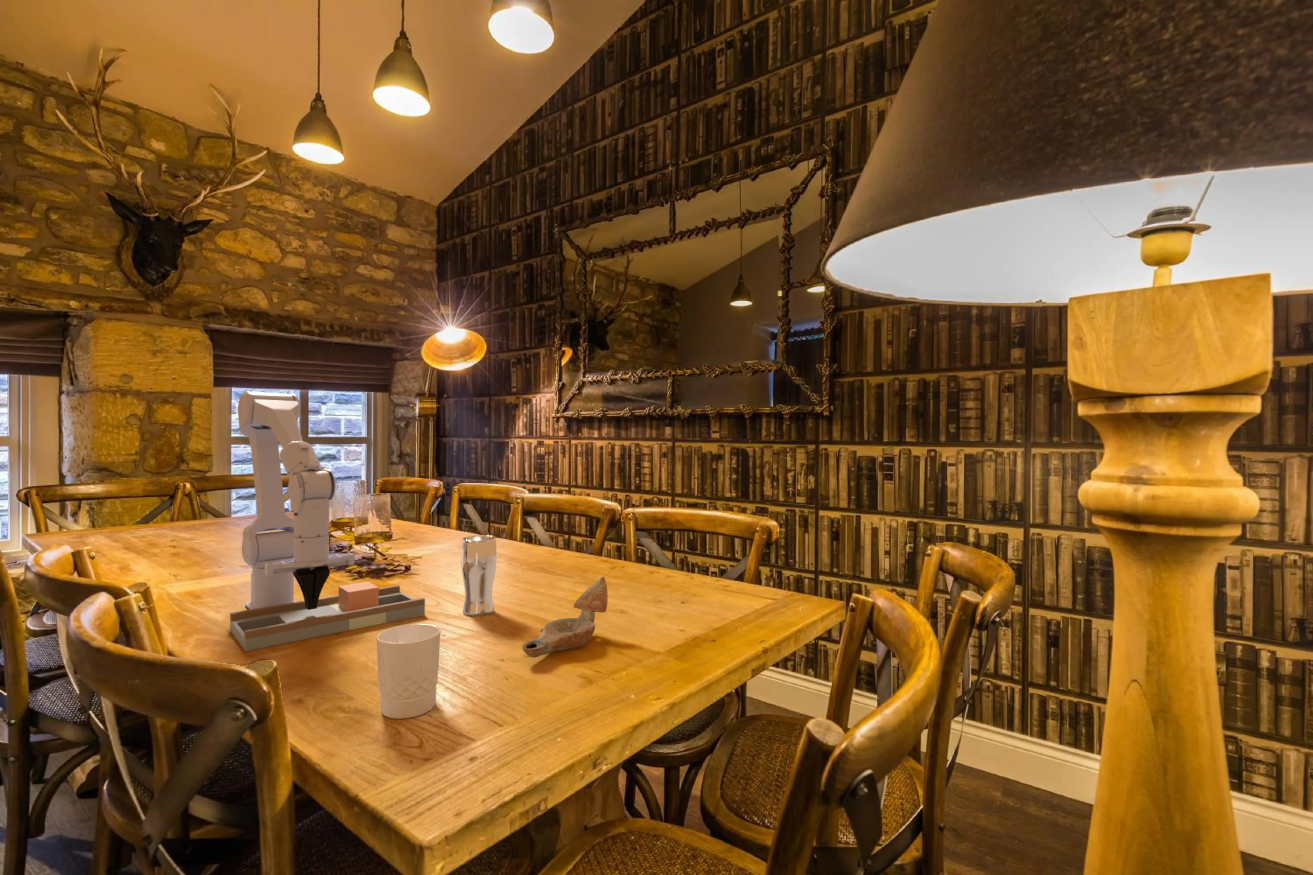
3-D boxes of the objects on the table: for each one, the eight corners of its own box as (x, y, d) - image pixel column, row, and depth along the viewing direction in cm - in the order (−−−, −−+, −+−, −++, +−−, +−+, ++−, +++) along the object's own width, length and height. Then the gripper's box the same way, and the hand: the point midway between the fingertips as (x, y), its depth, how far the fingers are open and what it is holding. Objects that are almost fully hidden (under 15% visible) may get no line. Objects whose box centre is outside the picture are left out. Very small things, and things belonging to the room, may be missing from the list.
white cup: (388, 695, 85) (388, 623, 85) (446, 694, 86) (447, 623, 86) (366, 722, 77) (367, 643, 77) (430, 720, 78) (431, 642, 78)
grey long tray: (229, 630, 111) (230, 612, 111) (397, 599, 132) (398, 585, 132) (245, 651, 101) (245, 632, 101) (424, 614, 121) (424, 598, 121)
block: (338, 606, 120) (338, 586, 120) (368, 601, 123) (368, 581, 123) (348, 613, 115) (348, 592, 115) (378, 607, 119) (378, 587, 119)
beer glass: (486, 618, 120) (486, 541, 120) (453, 615, 121) (454, 540, 121) (502, 607, 127) (502, 535, 127) (471, 605, 128) (471, 534, 128)
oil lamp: (622, 633, 112) (622, 579, 112) (545, 673, 94) (545, 608, 94) (584, 625, 116) (584, 573, 116) (503, 661, 98) (504, 599, 98)
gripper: (271, 543, 106) (270, 621, 106) (360, 534, 116) (359, 605, 116) (262, 537, 111) (261, 611, 111) (348, 529, 121) (347, 597, 121)
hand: (311, 608), depth 114 cm, fingers closed
